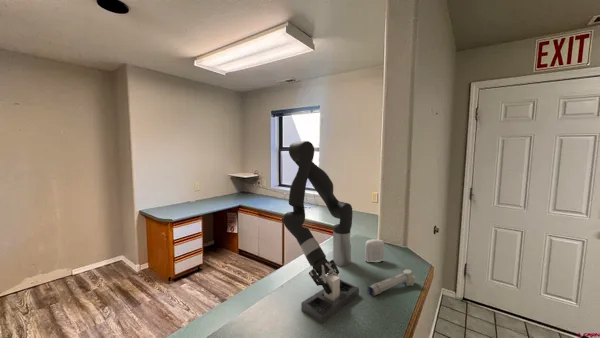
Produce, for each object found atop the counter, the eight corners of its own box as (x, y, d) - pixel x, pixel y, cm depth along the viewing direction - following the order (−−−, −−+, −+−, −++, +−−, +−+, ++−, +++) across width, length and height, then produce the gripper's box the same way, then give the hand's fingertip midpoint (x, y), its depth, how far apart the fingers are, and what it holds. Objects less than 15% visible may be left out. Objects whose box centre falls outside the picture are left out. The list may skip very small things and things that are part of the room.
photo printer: (381, 259, 133) (381, 237, 132) (384, 262, 128) (385, 240, 128) (363, 260, 131) (364, 238, 131) (367, 263, 127) (367, 241, 126)
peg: (330, 297, 96) (330, 273, 96) (339, 302, 93) (339, 277, 93) (323, 302, 93) (324, 277, 93) (332, 307, 90) (333, 281, 90)
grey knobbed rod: (365, 283, 100) (407, 264, 110) (367, 298, 101) (408, 277, 111) (374, 290, 95) (417, 269, 106) (375, 305, 96) (418, 283, 106)
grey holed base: (339, 285, 105) (339, 279, 105) (358, 295, 98) (358, 288, 98) (301, 310, 88) (301, 302, 88) (321, 323, 81) (321, 315, 81)
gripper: (305, 252, 92) (329, 293, 85) (328, 242, 103) (351, 279, 95) (296, 260, 97) (318, 301, 89) (319, 251, 107) (340, 286, 99)
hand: (335, 289), depth 92 cm, fingers open, 6 cm apart
